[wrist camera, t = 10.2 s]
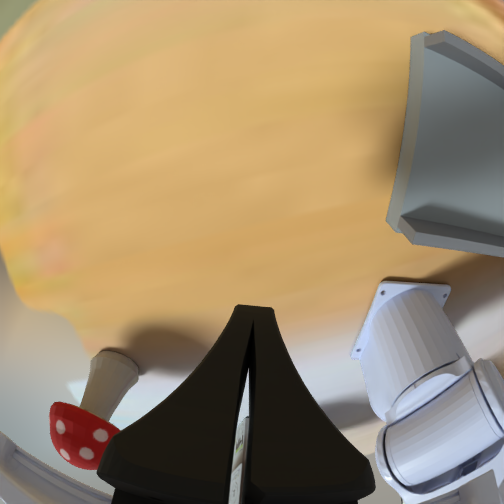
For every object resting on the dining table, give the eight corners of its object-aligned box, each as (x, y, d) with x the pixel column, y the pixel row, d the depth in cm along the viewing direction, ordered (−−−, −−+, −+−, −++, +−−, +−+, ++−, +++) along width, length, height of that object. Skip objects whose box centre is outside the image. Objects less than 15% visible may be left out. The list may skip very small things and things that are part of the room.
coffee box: (233, 431, 36) (221, 524, 22) (245, 415, 33) (234, 523, 19) (289, 440, 37) (287, 528, 23) (307, 425, 34) (309, 525, 20)
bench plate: (515, 244, 18) (540, 267, 14) (385, 220, 19) (410, 249, 15) (543, 115, 12) (574, 125, 8) (410, 37, 12) (444, 24, 8)
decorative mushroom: (136, 341, 27) (84, 463, 14) (163, 387, 31) (132, 491, 18) (73, 336, 28) (18, 430, 15) (103, 379, 32) (65, 465, 19)
